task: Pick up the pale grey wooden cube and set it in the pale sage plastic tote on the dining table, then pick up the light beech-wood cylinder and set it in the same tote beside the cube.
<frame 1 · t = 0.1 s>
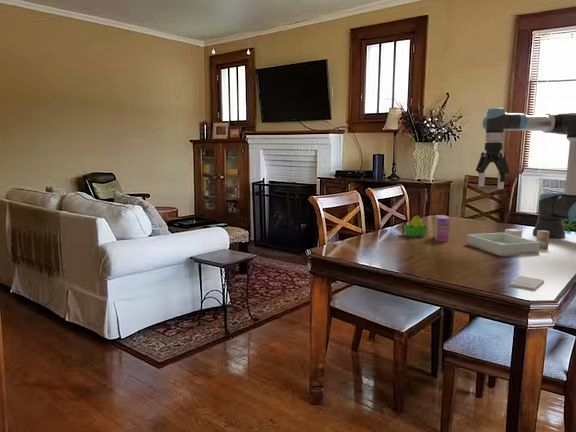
hand: (490, 187, 218), 28 cm above the table, tool pointing down, fingers open, 13 cm apart
grey cube: (512, 240, 235), on the table
box: (441, 239, 237), on the table
beech cylinder: (541, 247, 218), on the table
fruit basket: (414, 236, 246), on the table
external hard drive: (526, 286, 161), on the table
tote: (501, 248, 216), on the table
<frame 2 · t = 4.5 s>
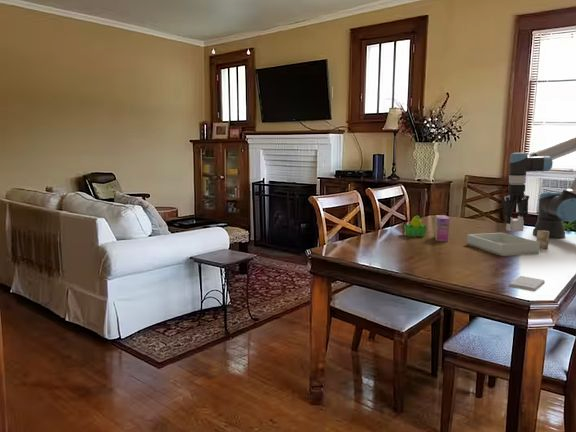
hand: (514, 229, 234), 6 cm above the table, tool pointing down, fingers closed on grey cube, 5 cm apart
grey cube: (514, 230, 234), point 5 cm above the table, touching gripper
everything else where it was.
when the fingers open (2 cm above the table, at t = 10.1 s): grey cube stays where it is, resting on tote.
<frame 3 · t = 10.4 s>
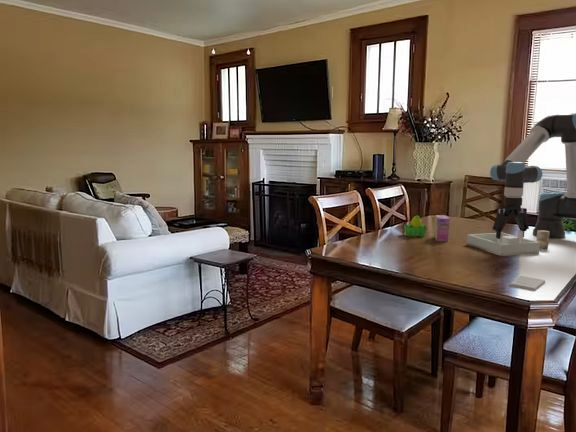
hand: (509, 245, 211), 3 cm above the table, tool pointing down, fingers open, 10 cm apart
grey cube: (509, 248, 211), point 1 cm above the table, touching tote
everything else where it was.
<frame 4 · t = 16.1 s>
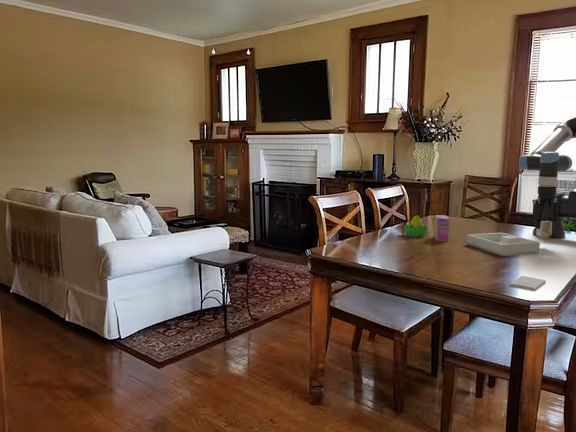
hand: (543, 235, 217), 6 cm above the table, tool pointing down, fingers closed on beech cylinder, 5 cm apart
beech cylinder: (543, 238, 218), point 4 cm above the table, touching gripper
everything else where it was.
when the fingers open (2 cm above the table, at t = 21.3 s): beech cylinder stays where it is, resting on tote.
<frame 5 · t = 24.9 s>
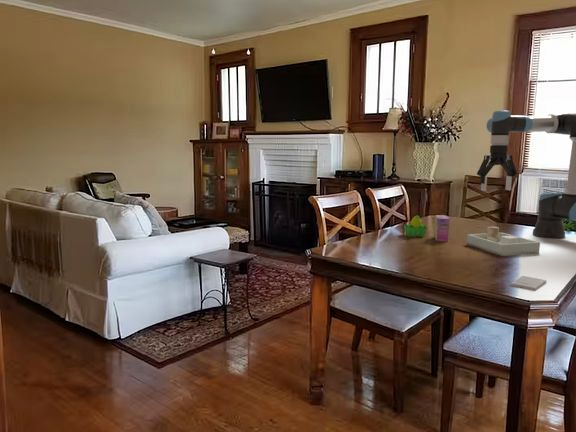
hand: (495, 190, 218), 27 cm above the table, tool pointing down, fingers open, 13 cm apart
beech cylinder: (492, 243, 222), point 1 cm above the table, touching tote
everything else where it was.
at the end: grey cube inside the target area on the tote (4.9 cm from its centre), point 1.0 cm above the tote's base; beech cylinder inside the target area on the tote (6.5 cm from its centre), point 1.0 cm above the tote's base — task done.
